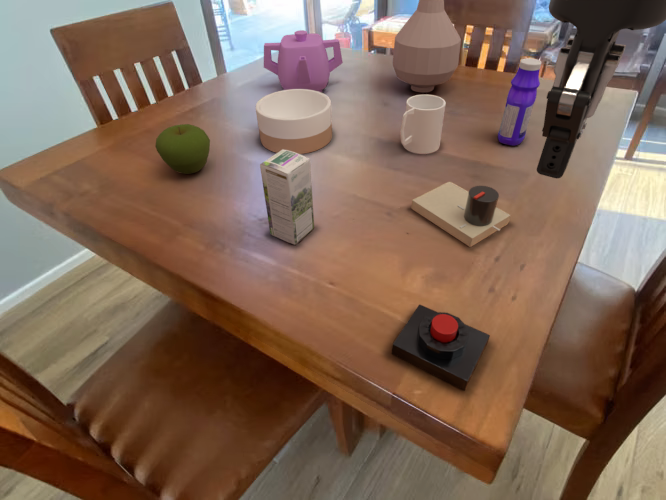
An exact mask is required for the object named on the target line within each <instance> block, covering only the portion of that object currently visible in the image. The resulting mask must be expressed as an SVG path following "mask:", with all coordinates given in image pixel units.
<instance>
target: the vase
mask: <svg viewBox="0 0 666 500" xmlns="http://www.w3.org/2000/svg"><path fill="white" fill-rule="evenodd" d="M460 36H461V35H460V34H459V33H458V31H457V29H456V28H455V25H454V23H453V22H452V21H451V19H450V16H449V14H447V12H446V10H445V0H418V3H417V7H416V10H415V11H414V12H413V14H412V15H411V16H410V17H409V18H408V20H407V21H406V22H405V24H404V25H403V26H402V27H401V28H400V30H399V31H397V33H396V35H395V36H394V44H393V54H392V67H393V70H394V73H395V76H396V77H397V79H399V80H400V81H401V82H404V83H406V84H408V85H410V89H411V90H412V91H413V92H416V93H430V92H432V91H433V90H434V89H435V87H436V86H439V85H441V84H443V83H446V82H448V81H449V80H450V79H451V78H452V76H453V75H454V73H455V71H456V70H457V68H458V66H459V61H460V52H461V44H462V39H461V37H460Z"/></svg>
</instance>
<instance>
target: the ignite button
mask: <svg viewBox="0 0 666 500" xmlns="http://www.w3.org/2000/svg"><path fill="white" fill-rule="evenodd" d="M457 330H458V323H457V321H456V320H455V319H454V318H453V317H452V316H450V315H446V314H440V315H437V316H435V317H434V318H433V320H432V324H431V329H430V332H431V335H432V337H433V338H434V339H435V340H437V341H439V342H442V343H448V342H451V341H453V340H454V339H455V337H456V334H457Z"/></svg>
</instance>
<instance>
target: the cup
mask: <svg viewBox="0 0 666 500" xmlns="http://www.w3.org/2000/svg"><path fill="white" fill-rule="evenodd" d="M446 104H447V103H446V100H445V99H444V98H443V97H440V96H439V95H435V94H416V95H413V96H409V97H408V98H407V99H406V104H405V112H404V113H403V115H402V119H401V123H400V129H399V130H400V144H401V145H402V146H403V148H404V149H405V150H406V151H408V152H410V153H413V154H418V155H426V154H427V155H429V154H433V153H435V152H437V151H438V150H439V149H440V146H441V141H442V140H441V139H442V132H443V125H444V119H445V110H446V106H447V105H446Z"/></svg>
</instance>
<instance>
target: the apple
mask: <svg viewBox="0 0 666 500" xmlns="http://www.w3.org/2000/svg"><path fill="white" fill-rule="evenodd" d="M154 146H155V149H156V152H157V153H158V155H159V156H160V158H161V160H162V161H163V162H164V163H165V164H166V165H167V166H168V167H169V168H171V169H172V170H173V171H174V172H176V173H180V174H185V175H191V174H194V173H198V172H199V171H201V170H202V169H203V168H205V165H206V164H207V161H208V157H209V154H210V149H211V148H210V147H211V139H210V137H209V136H208V134H207V133H206V131H205V130H204V129H203V128H200V127H199V126H196V125H193V124H188V123H185V124H184V123H183V124H176V125H172V126H169V127H167V128H165V129H163V131H161V132H160V133H159V134H158V136H157V137H156V139H155V145H154Z"/></svg>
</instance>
